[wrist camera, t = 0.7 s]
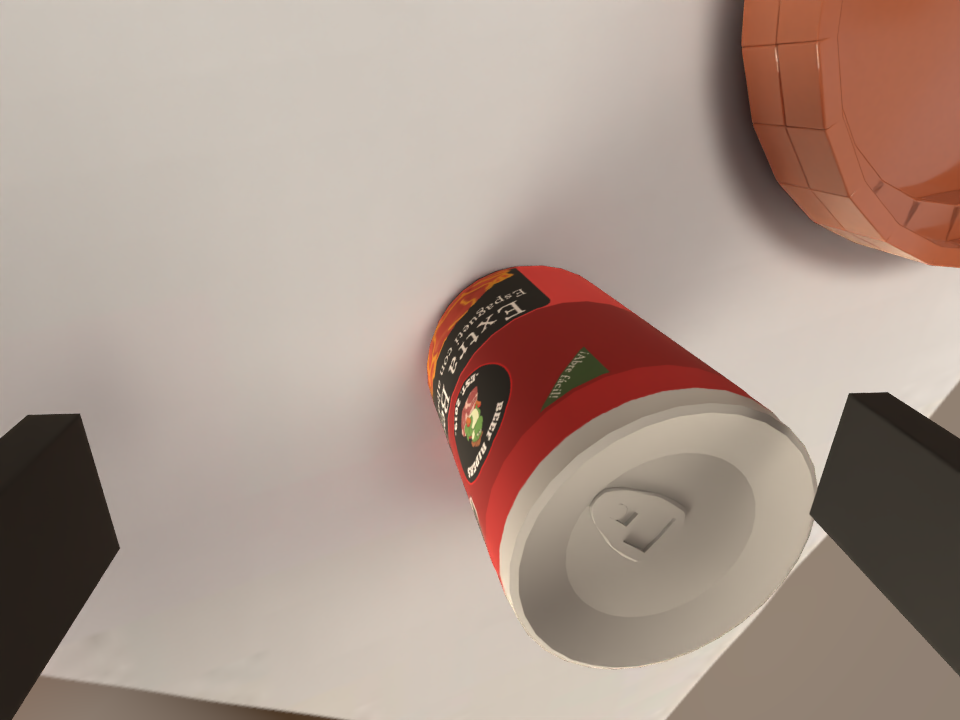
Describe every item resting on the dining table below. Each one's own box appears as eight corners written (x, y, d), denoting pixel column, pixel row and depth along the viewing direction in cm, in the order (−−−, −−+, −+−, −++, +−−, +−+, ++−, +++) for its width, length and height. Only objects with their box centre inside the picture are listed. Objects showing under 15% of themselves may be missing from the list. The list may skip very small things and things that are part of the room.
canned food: (468, 227, 20) (608, 357, 11) (648, 298, 23) (885, 450, 14) (391, 414, 23) (449, 661, 13) (564, 457, 26) (716, 684, 16)
